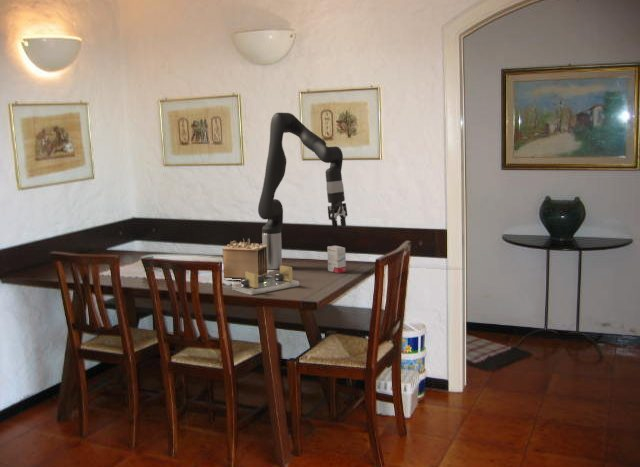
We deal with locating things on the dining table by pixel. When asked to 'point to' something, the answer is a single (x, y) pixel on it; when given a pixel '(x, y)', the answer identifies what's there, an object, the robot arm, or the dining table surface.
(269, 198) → the robot arm
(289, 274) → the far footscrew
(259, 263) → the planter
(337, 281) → the dining table surface
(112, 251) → the dining table surface
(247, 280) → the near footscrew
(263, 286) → the levelling plate
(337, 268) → the ink box
